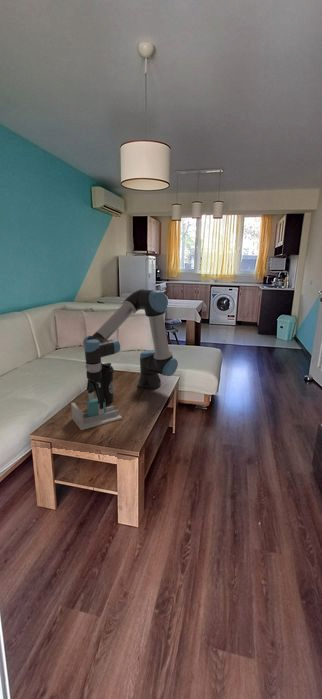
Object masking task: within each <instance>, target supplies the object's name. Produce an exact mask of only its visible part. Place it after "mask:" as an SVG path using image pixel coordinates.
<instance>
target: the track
mask: <svg viewBox="0 0 322 699" xmlns="http://www.w3.org/2000/svg"><path fill="white" fill-rule="evenodd" d="M70 405H71V407H70V408H71V417H72V420H73V421H74V423H75V424H76V426H77V427H78V428H79V430H80V431H83V430H87V429H90V428H94V427H97V426H102V425H105V424H109V423H112V422H116V421H119V420H122V419H123V417H122V416H121V414H120V411H119V409H116V408H115V405H110V406H106V413H104V414H101V415H95V416H91V417H88V416H87V411H86V412H82V410H81V409H80V408H79V406H77V404H76V403H75V402H71V403H70Z"/></svg>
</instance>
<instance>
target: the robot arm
mask: <svg viewBox="0 0 322 699" xmlns="http://www.w3.org/2000/svg"><path fill="white" fill-rule="evenodd" d="M168 304H169V300H168V297H167V294H165V293H164V292H163V291H162V290H161V291H160V290H158V289H154V290H153V289H138V290H136V291H134V292H133V293H131V294H129V296H127V297H126V298H125V299H124V300H123V302H122V305H121V306H119V308H118V309H117V310H116V311H115V312H114V313H113V314H112V315H111V316H110V317H109V318H108V319H107V320H106V321H105V322H104V323H103V324H102V325H101V326H100V327H99V329H97V330H96V331H95V332H94V333H93V335H87V336H85V337H84V339H83V346H84V355H85V356H84V357H85V365H84V367H85V370H86V378H87V383H86V391H87V393H88V400H91V399H95V394H96V398H97V399H98V403H97V404H98V414H99V415H101V414H104V402H105V398H104V393H103V389H102V383H100V382H99V379H100V378H101V377H102V371H101V369H102V367H101V363H102V358H104V357H107V356H111V355H116V354H118V353H119V352H120V351H121V343H120V341H119V340H117V339H115V338H114V339H110V337H111V336H112V335H113V334H114V333H115V332H116V331H118V329H119V328H120V327H121V326H122V325H123V324H124V323H125V322H126V321H127V320H128V319H129V318H130V317H131V316H132V315H133V314H136V312H138V311H140V310H142V311H143V310H144V314H145V317H147V318H148V321H149V326H150V330H151V331H150V332H151V337H152V342H153V348H154V349H150V350H145V351H141V352H140V354H139V364H140V367H139V368H140V370H139V371H140V375H139V377H138V381H137V384H138V385H137V386H138V387H140V388H141V389H146V390H147V389H148V390H151V389H157V388H159V387H161V385H162V381H161V378H160V375H162V376H164V377H165V376H166V377H171V376H172V375H174V374H175V373H176V371H177V369H178V364H179V363H178V360H177V359H176V358H174V356H173V352H172V351H170V349H169V348H170V347H169V343H168V336H167V335H168V334H167V331H166V324H165V323H166V322H165V317H164V314H166V310H167V308H168ZM109 339H110V340H109ZM94 392H95V393H94Z"/></svg>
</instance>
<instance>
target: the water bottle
mask: <svg viewBox="0 0 322 699" xmlns="http://www.w3.org/2000/svg"><path fill="white" fill-rule="evenodd" d="M101 367H102V369H101V371H102V377H101V378H100V379H99V382H100V383H102V389H103V393H104V398H105V401H106V405H107V404H111V403H113V402H114V371H115V370H114V367H113V366H112V363H111V362H106V363H102V362H101Z"/></svg>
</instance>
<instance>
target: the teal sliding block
mask: <svg viewBox="0 0 322 699" xmlns="http://www.w3.org/2000/svg"><path fill="white" fill-rule="evenodd" d="M85 401H86V412H87V416H88V417H91V416H95V415H99V414H98V404H97V403H98V399H97V397H94V399H91V400H89V399H87V400H85ZM106 407H107V404H106V401H105V402H104V413H106Z"/></svg>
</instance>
